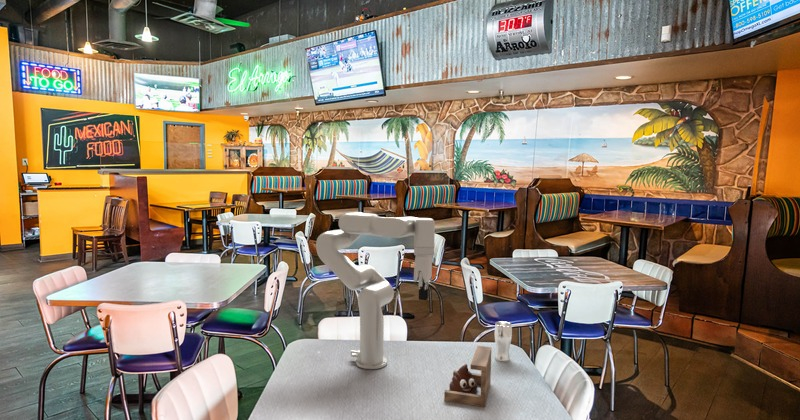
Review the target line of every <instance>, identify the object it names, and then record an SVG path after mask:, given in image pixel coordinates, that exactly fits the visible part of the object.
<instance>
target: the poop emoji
mask: <svg viewBox="0 0 800 420" xmlns="http://www.w3.org/2000/svg"><path fill="white" fill-rule="evenodd" d="M457 371H458V372H456V374H455V376H452V377H451V382H450V383H449V385H448V386H449V391H456V392H462V393H469V394H474V393H476V391H477V390H478V384H477V383H476V382H475V381H474V378H473V377H472V374H471V373H472V372H471V371H469V366H468V364H467V363H465V364H464V365H462V366H461V367H459V368H458V370H457Z"/></svg>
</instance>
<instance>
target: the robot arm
mask: <svg viewBox="0 0 800 420" xmlns="http://www.w3.org/2000/svg"><path fill="white" fill-rule="evenodd" d="M435 223H436V222H435V220H434V219H433V218H430V217H415V216H408V215H407V216H399V217H388V216H387V217H385V216H379V215H378V214H377V213H366V212H365V213H364V212H362V211H354V212H346V213H344V214H342V215H341V216H340V217H339V219H338V227H339V229H333V230H327V231H324V232H322V233H321V234H320V235H318V237H317V238H316V242H315V243H316V244H315V248H316V254H317V256H318V258H319V259H320V260H321V261H320V262H322V263H323V264H324V265H325V266H326V267H328V268H329V270H331V271H332V272H333V274H334V275H335V276H336V277H337V278H338V279H339V280H340V281H341V282H342V283H343V285H344V286H346V288H348V289H349V290H350V291H358V290H360V292H359V293H358V296H357V305H358V309H359V350H355V349H351V350H350V355H351V357H352V358H356V360H355V365H356V366H357V367H359V368H360V369H365V370H377V369H381V368H384V367H386V365H387V364H388V359H387V358H386V356H384V339H385V338H384V331H385V330H384V328H385V327H384V325H385V323H384V322H385V321H384V314H383V311H382V307H383V306H386V305H388V304H389V303H391V302H392V300H393V299H394V297H395V291H394V287H393V286H392V285H391V283H390V282H389V281H388V280H387V279H386V278H385V277H384V276H383V275H382V274H381V273H380V272H379V271H378V270H377V269H376V268H375V267H373V266H372V265H370V264H367V263H364V264H358V265H357V264H355V263H354V262H353V261H352V260H351V259H350V257H348V256H347V255H345V254H343V253H342V252H340V250H344V249H348V248H349V247H350V246H352V245H353V244H354V243H355V242H356V241H358V239H359V238H360V237H362V235H363V236H364V235H366V236H374V237H380V238H388V239H389V238H393V239H401V238H406V237H410V236H411V237H413V236H414V238H413V239H414V241H413V249H414V250H413V255H414V256H415V258H414V264H413V265H414V269H413V282H414V283H416V282H418V300H419V301H427V300H428V299H429V281H430V280H431V279H432V275H433V273H432V272H433V258H432V257H434V256H435V237H436V236H435V234H436V233H435V229H436V224H435Z"/></svg>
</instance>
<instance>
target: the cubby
mask: <svg viewBox="0 0 800 420" xmlns="http://www.w3.org/2000/svg"><path fill="white" fill-rule="evenodd" d="M470 370H475V371H480V373H475V372H471V374H472V377H473V378H474V381H475V382H476V384H477V385H478V384H479V385H480V394H474V393H462V392H456V391H451V390H450V389H448V390H447V389H445V390H444V394H443V395H444V396H443V398H444V401H446V402H450V403H456V404H462V405H463V404H464V405H470V406H477V407H482V408H486V406H487V405H486V404H487V399H488V397H489V396H488V395H489V393H490V392H489V391H490V387H491V379H492V378H491V375H492V347H490V346H482V345H477V346H476V349H475V351H474V354H473V356H472V360H471V363H470ZM456 372H458V370H453V372H452V375H453V376H455V374H456ZM453 376H452V377H453Z"/></svg>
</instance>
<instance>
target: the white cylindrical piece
mask: <svg viewBox="0 0 800 420" xmlns="http://www.w3.org/2000/svg"><path fill="white" fill-rule="evenodd" d="M512 334H513V327H512V323H511V322H508V321H503V320H501V321H495V325H494V343H495V356H494V359H495V360H496V361H498V362H503V363H507V362H509V361H511V359H510V358H511V357H510V348H511V343H512V336H513V335H512Z"/></svg>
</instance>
